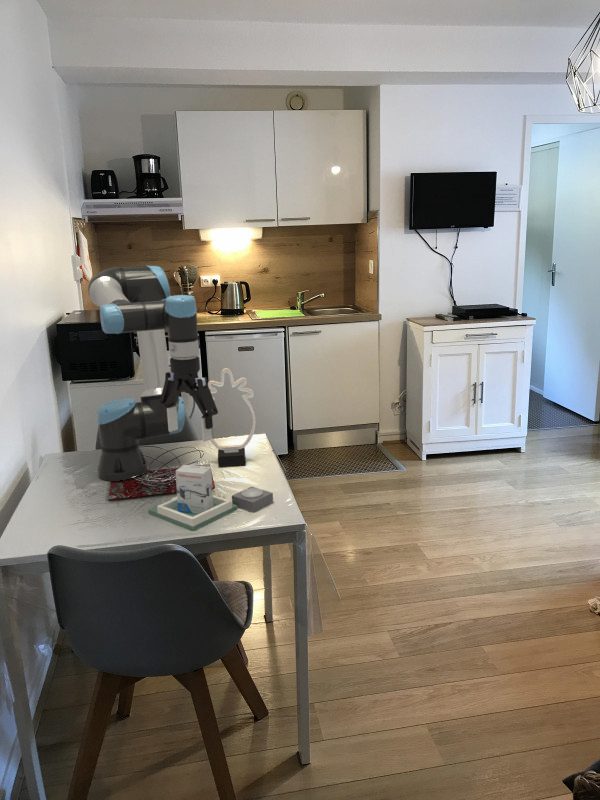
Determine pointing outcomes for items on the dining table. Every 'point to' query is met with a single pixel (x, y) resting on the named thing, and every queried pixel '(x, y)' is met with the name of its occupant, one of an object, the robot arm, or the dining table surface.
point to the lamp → (236, 453)
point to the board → (193, 520)
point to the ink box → (194, 489)
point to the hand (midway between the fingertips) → (190, 435)
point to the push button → (252, 499)
